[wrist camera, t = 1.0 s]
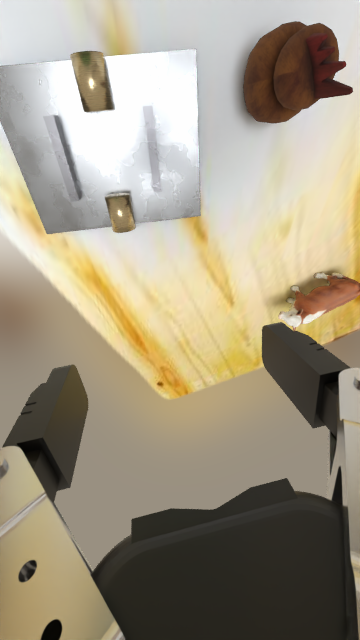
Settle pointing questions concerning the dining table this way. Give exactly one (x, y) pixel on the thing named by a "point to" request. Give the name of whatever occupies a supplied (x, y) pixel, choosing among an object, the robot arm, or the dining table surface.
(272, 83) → the wooden figurine
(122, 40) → the dining table surface
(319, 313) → the bull figurine
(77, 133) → the metal mounting plate
